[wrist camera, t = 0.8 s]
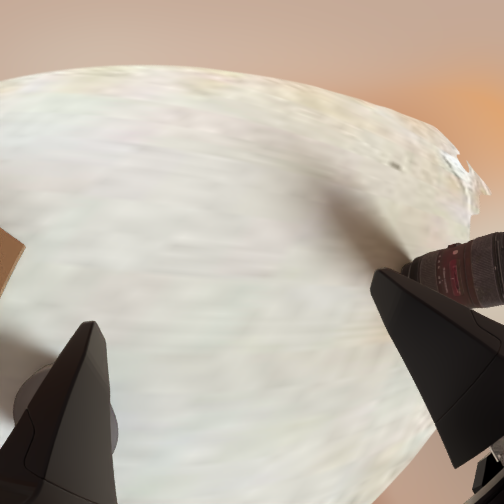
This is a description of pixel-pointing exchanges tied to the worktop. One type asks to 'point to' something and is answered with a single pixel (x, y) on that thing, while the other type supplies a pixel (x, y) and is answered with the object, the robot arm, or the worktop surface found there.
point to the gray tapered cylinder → (29, 390)
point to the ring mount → (8, 257)
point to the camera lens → (464, 271)
